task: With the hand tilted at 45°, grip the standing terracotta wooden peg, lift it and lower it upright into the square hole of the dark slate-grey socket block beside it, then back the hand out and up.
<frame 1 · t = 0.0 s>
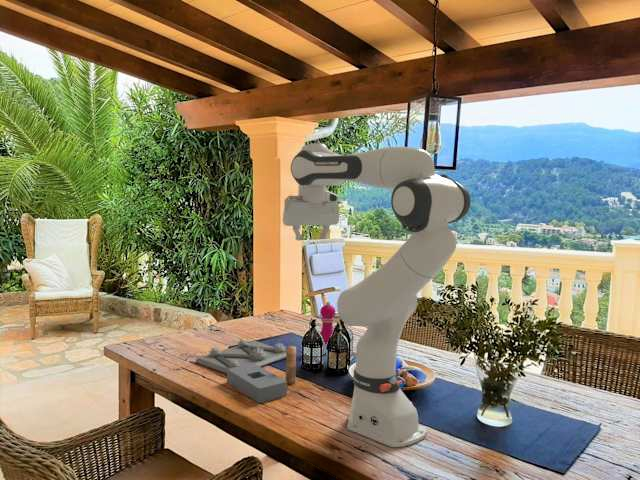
hand: (311, 239, 161), 48 cm above the table, tool pointing down, fingers open, 8 cm apart
socket block: (256, 388, 162), on the table
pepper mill: (326, 351, 202), on the table
peg: (290, 382, 168), on the table
grey crossed stick tray: (244, 361, 189), on the table
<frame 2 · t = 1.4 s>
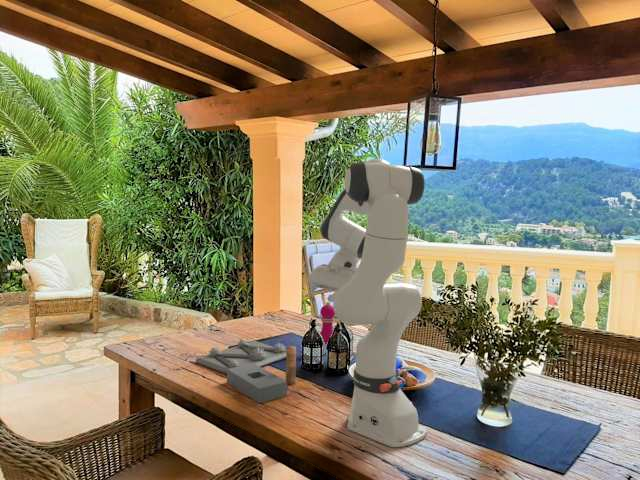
hand: (320, 298, 174), 27 cm above the table, tool tilted 45°, fingers open, 8 cm apart
nothing on the table moved.
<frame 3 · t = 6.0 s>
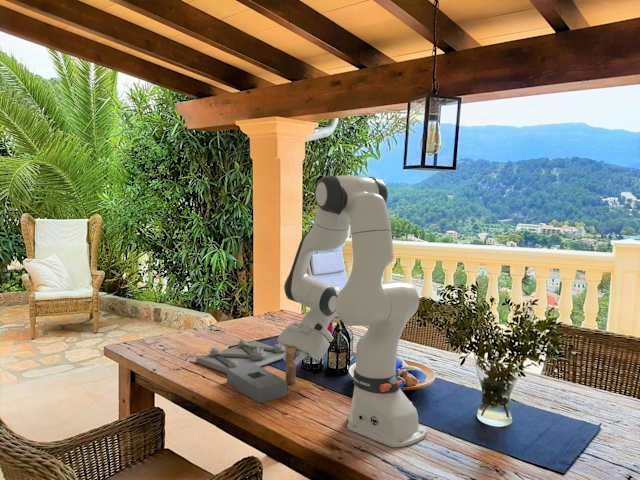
hand: (289, 361, 167), 7 cm above the table, tool tilted 45°, fingers closed on peg, 3 cm apart
peg: (290, 382, 168), on the table, touching gripper
everything else where it was.
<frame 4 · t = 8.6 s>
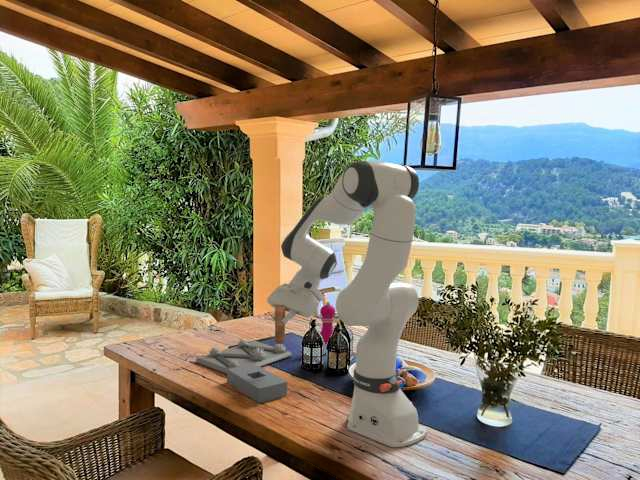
hand: (278, 320, 164), 21 cm above the table, tool tilted 45°, fingers closed on peg, 3 cm apart
peg: (279, 342, 165), point 14 cm above the table, touching gripper
everything else where it was.
when the fingers open (9 cm above the table, at t = 11.5 s): peg drops 2 cm, resting in socket block.
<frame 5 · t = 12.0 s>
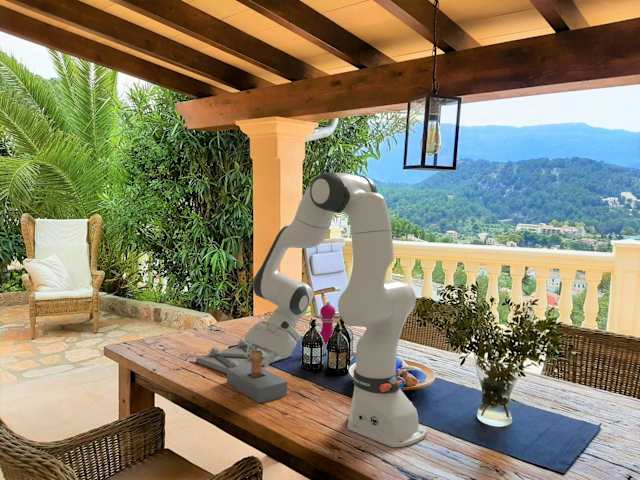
hand: (254, 361, 161), 9 cm above the table, tool tilted 45°, fingers open, 8 cm apart
peg: (256, 388, 162), resting in socket block
everything else where it was.
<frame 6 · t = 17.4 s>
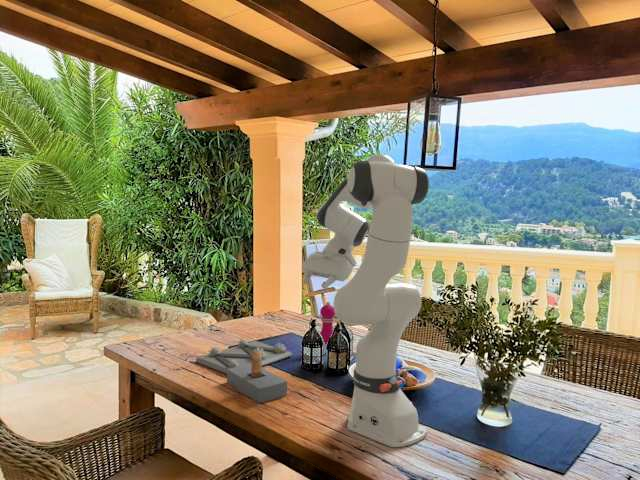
hand: (314, 285, 173), 31 cm above the table, tool tilted 45°, fingers open, 8 cm apart
nothing on the table moved.
at the end: peg 0.1 cm off-centre on the socket block, point 0.0 cm above the socket block's base; peg tilted 0°; the gripper is holding nothing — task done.
